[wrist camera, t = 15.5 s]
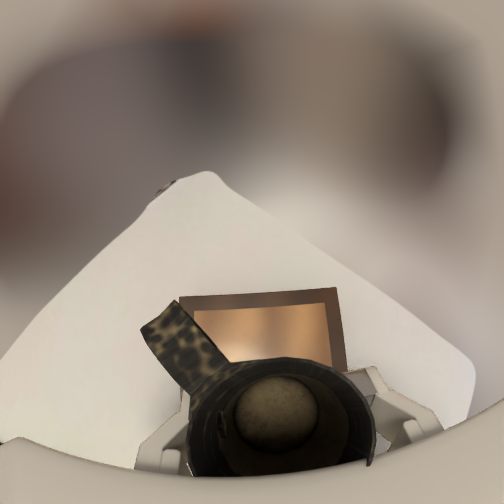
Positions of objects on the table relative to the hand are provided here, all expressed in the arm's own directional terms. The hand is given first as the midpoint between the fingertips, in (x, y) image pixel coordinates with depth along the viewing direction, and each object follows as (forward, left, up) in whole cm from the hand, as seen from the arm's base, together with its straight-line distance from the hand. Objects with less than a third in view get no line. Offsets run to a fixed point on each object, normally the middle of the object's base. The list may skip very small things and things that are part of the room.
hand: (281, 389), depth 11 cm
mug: (0, +1, -7) cm, 7 cm away
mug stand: (0, -1, -17) cm, 17 cm away
